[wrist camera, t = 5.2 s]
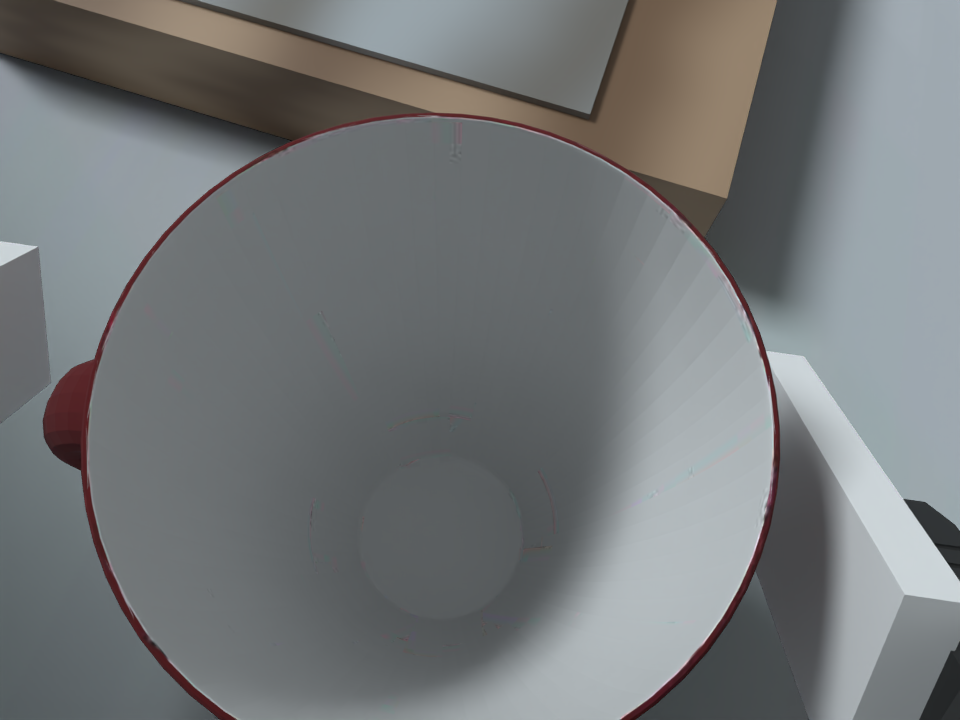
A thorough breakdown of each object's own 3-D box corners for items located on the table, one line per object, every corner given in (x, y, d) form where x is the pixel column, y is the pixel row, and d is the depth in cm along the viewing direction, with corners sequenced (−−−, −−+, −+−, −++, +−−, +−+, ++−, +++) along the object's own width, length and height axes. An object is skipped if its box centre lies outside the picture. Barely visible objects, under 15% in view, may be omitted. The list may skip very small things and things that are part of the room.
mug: (115, 719, 18) (-265, 764, 8) (180, 355, 20) (-47, 79, 11) (623, 740, 18) (819, 808, 8) (617, 377, 21) (758, 126, 11)
